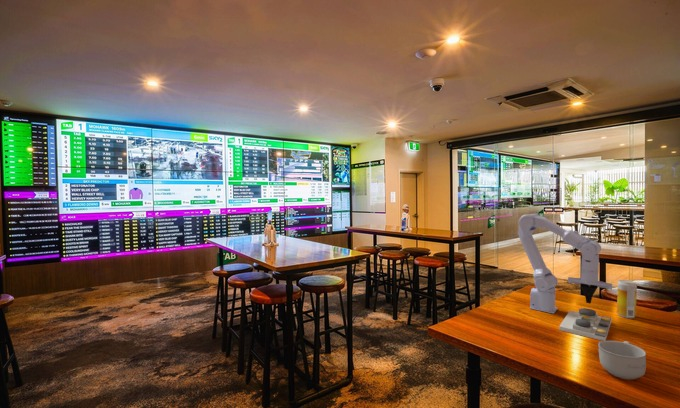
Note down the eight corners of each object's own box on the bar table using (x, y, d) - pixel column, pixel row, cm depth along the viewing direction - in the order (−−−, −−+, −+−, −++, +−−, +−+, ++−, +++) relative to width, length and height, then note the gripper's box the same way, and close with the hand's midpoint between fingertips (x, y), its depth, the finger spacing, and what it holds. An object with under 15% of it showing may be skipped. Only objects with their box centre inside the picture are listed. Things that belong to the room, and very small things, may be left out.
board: (559, 330, 127) (559, 322, 127) (569, 313, 143) (569, 307, 143) (605, 341, 117) (605, 333, 117) (611, 322, 133) (611, 315, 133)
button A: (574, 328, 125) (574, 321, 125) (576, 324, 128) (576, 318, 128) (589, 332, 122) (589, 325, 121) (591, 328, 125) (591, 321, 125)
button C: (580, 317, 135) (581, 310, 135) (582, 313, 139) (582, 307, 139) (594, 320, 132) (595, 313, 132) (596, 316, 136) (596, 310, 135)
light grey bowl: (635, 388, 90) (635, 360, 90) (590, 369, 100) (590, 344, 99) (657, 374, 97) (657, 348, 96) (612, 358, 106) (613, 334, 106)
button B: (577, 317, 130) (578, 311, 130) (579, 314, 133) (579, 307, 133) (592, 320, 127) (592, 314, 127) (594, 317, 130) (594, 310, 130)
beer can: (628, 313, 143) (629, 279, 142) (639, 319, 136) (640, 283, 136) (613, 313, 143) (614, 279, 142) (623, 318, 137) (625, 283, 136)
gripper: (566, 269, 137) (565, 300, 137) (611, 275, 127) (610, 309, 127) (569, 266, 142) (569, 296, 143) (613, 272, 132) (612, 304, 132)
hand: (588, 302), depth 135 cm, fingers closed
